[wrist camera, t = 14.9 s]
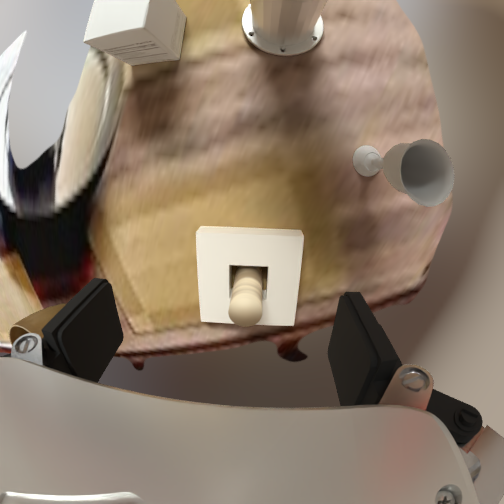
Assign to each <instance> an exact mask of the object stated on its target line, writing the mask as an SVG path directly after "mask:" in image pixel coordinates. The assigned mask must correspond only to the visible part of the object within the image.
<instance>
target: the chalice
mask: <svg viewBox="0 0 504 504" xmlns="http://www.w3.org/2000/svg"><path fill="white" fill-rule="evenodd" d="M353 165H354V167H355V169H356V171H357V172H358V173H359V174H361V175H362V176H366V177H368V176H373V175H375V174H376V173H377V172H378V171H379V170H380V169H383V172H384V174H385V176H386V178H387V180H388V181H389V182H390V184H391V185H392V186H393V187H394V188H395V189H397V190H398V191H400V192H402V193H405V194H407V195H409V197H410V198H411V199H412V200H414V201H415V202H416V203H418V204H420V205H423V206H426V207H429V206H436V205H438V204H440V203H442V202H443V201H444V200H445V199H446V198H447V197H448V196H449V194H450V192H451V190H452V188H453V183H454V167H453V164H452V161H451V158H450V157H449V155H448V153H447V152H446V150H445V149H444V148H443V147H442V146H441V145H439V144H438V143H436V142H434V141H432V140H427V139H421V140H418V141H415V142H413V143H412V144H409V143H400V144H398V145H395V146H393V147H392V148H391V149H390V150H389V151H388V152H387V153H386V155H385V157H384V158H381V156H380V154H379V152H378V151H377V150H376V149H375V148H373V147H372V146H368V145H366V146H361V147H359V148H358V149H357V150H356V151H355V153H354V155H353Z"/></svg>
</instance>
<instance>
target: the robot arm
mask: <svg viewBox="0 0 504 504" xmlns="http://www.w3.org/2000/svg"><path fill="white" fill-rule="evenodd" d="M326 2H327V0H250V4H249V5H248V7H247V8H246V9H245V11H244V13H243V17H242V27H243V31H244V34H245V36H246V37H247V39H248V40H249V41H250V42H251V43H252V44H253V45H254V46H255V47H257V48H259V49H260V50H262V51H264V52H267V53H269V54H273V55H279V56H294V55H299V54H302V53H305V52H307V51H309V50H311V49H312V48H313V47H314V46H316V45H317V43H318V42H319V41H320V39H321V37H322V35H323V30H324V23H323V20H322V17H321V13H322V11H323V8H324V6H325V4H326ZM250 35H253V36H250ZM312 39H314V40H315V41H314V40H312ZM282 50H283V51H284V52H281V51H282ZM41 331H42V333H43V335H44V337H43V338H42V339H41V337H40V336H39V335H38V334H35V333H28V334H25V335H22V336H20V337H19V338H18V339H16V340H15V342H14V343H13V345H12V351H11V354H8V355H5V356H1V357H0V504H498V503H499V501H500V500H501V499H502V497H503V495H504V438H503V437H502V436H500V435H499V434H498V433H497V432H496V431H494V430H493V429H492V428H490V427H489V426H488V425H487V426H486V427H485V428H484V427H483V426H482V417H481V415H480V413H479V412H478V410H477V409H476V408H474V407H472V406H471V405H468V404H466V403H464V402H461V401H459V400H457V399H454V398H452V397H450V396H448V395H445V394H443V393H441V392H439V391H436V390H434V389H433V386H434V380H433V377H432V375H431V374H430V373H429V372H428V371H427V370H426V369H424V368H423V367H421V366H417V365H413V364H412V365H411V364H407V365H402V364H401V361H400V359H399V357H398V355H397V354H396V352H395V350H394V348H393V346H392V344H391V343H390V341H389V339H388V337H387V336H386V334H385V332H384V330H383V328H382V326H381V325H380V324H378V322H377V320H376V318H375V317H374V315H373V313H372V311H371V310H370V308H369V306H368V305H367V303H366V301H365V300H364V298H363V296H362V295H361V293H360V292H346V293H345V294H344V296H340V298H339V303H338V308H337V313H336V317H335V322H334V326H333V331H332V335H331V339H330V343H329V347H328V358H329V362H330V365H331V369H332V373H333V377H334V380H335V384H336V389H337V393H338V397H339V401H340V405H341V406H337V407H315V408H261V407H241V406H227V405H216V404H207V403H197V402H190V401H183V400H176V399H170V398H163V397H158V396H153V395H147V394H142V393H138V392H133V391H129V390H124V389H120V388H116V387H112V386H108V385H104V384H100V383H98V381H99V379H100V378H101V376H102V374H103V372H104V371H105V369H106V367H107V366H108V364H109V362H110V361H111V359H112V358H113V356H114V354H115V353H116V351H117V349H118V348H119V346H120V345H121V343H122V341H123V331H122V328H121V324H120V320H119V316H118V312H117V308H116V304H115V299H114V295H113V290H112V286H111V284H110V283H108V281H107V280H106V279H99V278H94V279H93V280H91V281H90V282H89V283H88V284H87V285H86V286H85V287H84V288H83V289H82V290H81V291H80V292H79V293H77V294H76V295H75V296H74V297H73V298H72V299H71V300H70V301H69V302H68V303H67V304H66V305H65V306H64V307H63V308H62V309H61V310H60V311H59V312H58V313H57V314H56V315H55V316H54V317H53V318H52V319H51V320H50V321H49V322H48V323H47V324H46V325H45V326H44V327H43V328H42V329H41Z"/></svg>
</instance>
